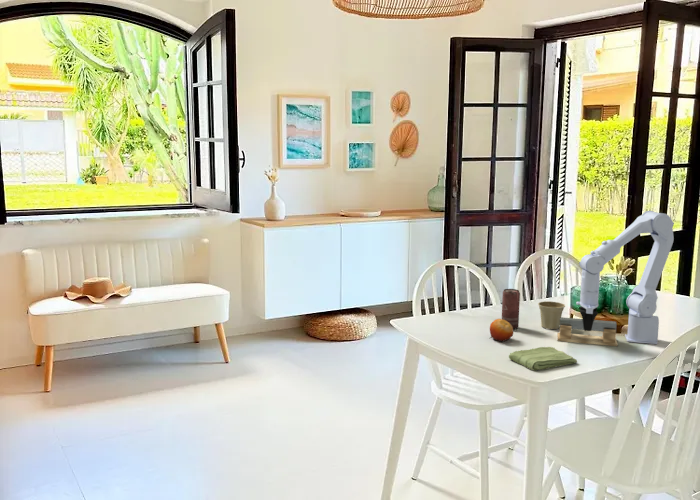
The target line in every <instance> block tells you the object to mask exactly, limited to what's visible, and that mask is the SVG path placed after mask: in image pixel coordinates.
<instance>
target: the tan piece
mask: <svg viewBox="0 0 700 500" xmlns="http://www.w3.org/2000/svg"><path fill="white" fill-rule="evenodd" d="M571 327H572V326H564V325H559V332H557V340H556V341H557V342H564V343H565V342H567V343H575V344H576V343H578V344H587V345H599V346H609V347H610V346H612V347H618V341H617V338H616V334H617V329H616V330H613V329H604V332H603V331H602V336H601V335H593V334H592V335H590V334H578V333H572V329H571Z"/></svg>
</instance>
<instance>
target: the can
mask: <svg viewBox="0 0 700 500" xmlns="http://www.w3.org/2000/svg"><path fill="white" fill-rule="evenodd" d="M520 301H521V292H520V290H519V289H516V288H505V289H503V291H502V300H501V302H502V303H501V319H502V320H506V321H507V322H509V323H510V324H511V325H512V327H513V331H514V330H518V328H519V324H520V304H521V303H520Z"/></svg>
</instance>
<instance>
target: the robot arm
mask: <svg viewBox="0 0 700 500" xmlns="http://www.w3.org/2000/svg"><path fill="white" fill-rule="evenodd" d="M674 225H675V222H674V221H673V219H672V218H671V217H670V215H669V214H667V213H665V212H664V213H663V212H657V211H653V210H646V211H644V212H643V213H642V214H641V215H639V216H637V217H636V219H635V220H634V221H633V222H632V223H631V224H630V225H628V226H627V228H625V229H624V230H623V231H622V232H621V233H620V234H619V235H617V236H616V237H615V238H614V239H607V240H603V241H602V242H601V244H600V245H599V246H598V247H597V248H596V249H594V250H591V251H590V252H589V253H590V254H585V255H584V256H582V257H581V259H580V261H579V262H578V264H579V267H580V269H581V279H580V280H581V282H580V296H579V297H580V298H579V301H576V303H575V304H576V305H577V306H579V312H580V315H581V319H583V326H584V330H583V331H585V332H592V331H591V329H592V325H593V322H594V320H596V317H597V316H598V314H599V312H598V311H597V310H598V307H599V294H600V293H599V292H600V279H601V278H600V273H601V272H602V271H603V270H604V266H605V265H607V263H609V261H611V260H612V259H614V258H615V257H616V256H618V255H619V254H620V252H621V248H622V247H623V246H625V245H626V244H627V243H629V242H631V241H632V240H633V239H635V238H636V237H638V236H639V235H641V234H650V236H651V237H652V239H653V241H654V242H653V244H652V248H651V250H650V253H649V256H648V259H647V261H646V264H645V267H644V270H643V272H642V275H641V278H640V281H639V283H638V284H637V285H636V286H635V287H634V288H633V289H632V291H631V293H630V294H629V295H628V296H627V298H626V300H625V302H626V306H627V308H628V309H629V310H628V322H627V334H626V333H625V334H624V337H625V340H626V342H629V343H640V344H648V345H649V344H652V345H658V339H659V328H660V327H659V325H660V324H659V323H660V320H659V316H657V315H654V314H655V313H656V311H657V301H658V295H657V291H656V289H657V288H658V284H659V281H660V279H661V276H662V273H663V272H664V271H663V270H664V269H665V266H666V263H667V260H668V257H669V255H670V252H671V249H672V247H673V243H674V239H675V238H674V230H673V227H674Z"/></svg>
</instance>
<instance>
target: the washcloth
mask: <svg viewBox="0 0 700 500" xmlns="http://www.w3.org/2000/svg"><path fill="white" fill-rule="evenodd" d="M508 358H509V360H510V361H512V360H513V361H512V362H515V363H517V364H518V365H522V366H524V367H525V368H527V367H528V368H527V369H529V370H530V371H536V372H537V371H542V370H549V369H553V368H559V367H563V366H568V365H574V364H576V363H578V361H577V359H575V358H574V357H573V356H572V355H569V354H567V353H566V352H564V351H563V350H558V349H557V348H555V347H552V346H540V347H535V348H530V349H522V350H515V351H512V352H510V353H509V355H508Z"/></svg>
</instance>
